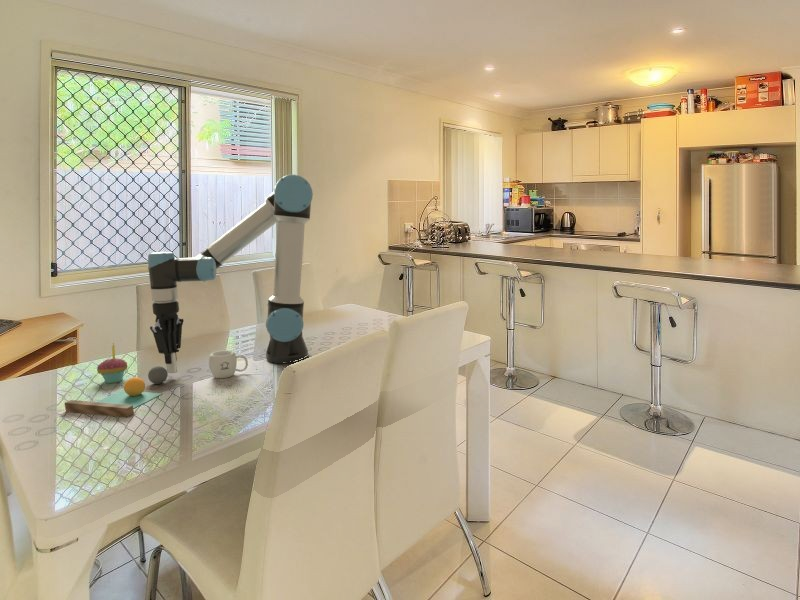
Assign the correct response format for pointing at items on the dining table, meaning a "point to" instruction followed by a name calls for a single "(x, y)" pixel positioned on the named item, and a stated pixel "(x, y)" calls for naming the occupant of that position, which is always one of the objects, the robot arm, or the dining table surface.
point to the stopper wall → (99, 408)
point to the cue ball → (157, 375)
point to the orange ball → (134, 386)
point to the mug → (224, 363)
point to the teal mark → (129, 398)
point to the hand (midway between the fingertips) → (172, 372)
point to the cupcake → (112, 368)
